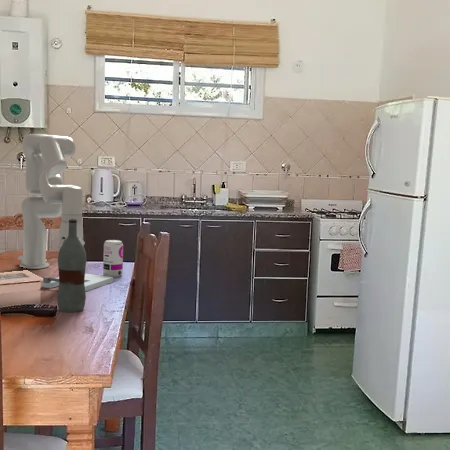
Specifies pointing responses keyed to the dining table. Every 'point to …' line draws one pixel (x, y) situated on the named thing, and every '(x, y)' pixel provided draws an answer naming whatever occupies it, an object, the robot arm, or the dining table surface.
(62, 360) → the dining table surface
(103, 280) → the shelf board
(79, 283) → the bottle
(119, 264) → the supplement can
